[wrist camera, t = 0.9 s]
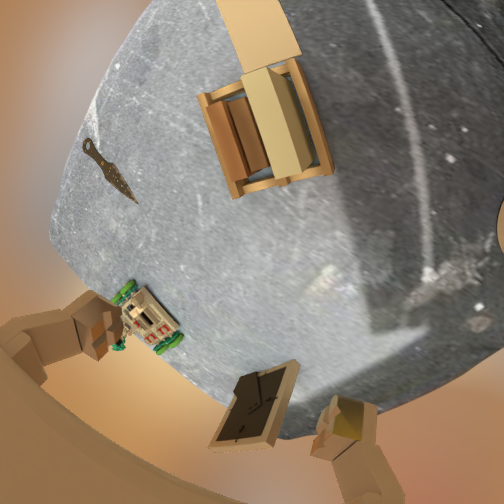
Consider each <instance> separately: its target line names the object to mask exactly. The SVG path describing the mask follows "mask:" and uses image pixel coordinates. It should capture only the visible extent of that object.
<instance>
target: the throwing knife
mask: <svg viewBox="0 0 504 504" xmlns="http://www.w3.org/2000/svg"><path fill="white" fill-rule="evenodd" d="M87 142H89V143H90V149H89V150H87V149H86V143H87ZM83 150H84V152H85V153H86V154H88V155H89V156H91V157H92V158H93V159H94V160H95V161H96V162H97V164H98V165H99V166H100V167H101V169H102V171H103V173H104V175H105V179H106V180H107V181H108V182H110V183H111V184H112V185H113V186H114V187H115V188H116V189H118V190H119V191H120V192H121V193H123V194H124V195H125V196H127V197H128V198H129V199H131V200H132V201H134V202H135V203H137V201H136V199H135V197H134V195H133V193H132V191H131V190H130V188H129V187H128V185H127V183H126V182H125V180H124V178H123V177H122V175H121V174H120V172H119V171H118V169H117V168H116V166H115V165H114V163H108V162H107V161H106V160H105V159H104V158H103V157H102V156H101V155H100V154H99V152H98V151H97V150H96V148H95V146H94V144H93V142H92V140H91V139H90V138H87V139H85V141H84V142H83ZM109 170H110V172H109ZM113 175H114V177H113ZM117 180H118V182H117ZM121 185H122V186H123V188H122V187H121ZM137 204H138V203H137ZM138 205H139V204H138Z"/></svg>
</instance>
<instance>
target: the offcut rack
mask: <svg viewBox="0 0 504 504" xmlns="http://www.w3.org/2000/svg"><path fill="white" fill-rule="evenodd" d="M285 62H286V64H284V65H281V66H278V67H275V68H272V69H271V70H273V71H274V72H276V73H278V74H279V75H281V76H283V77H284V78H285V77H288V76H291V77H292V80H293V83H294V86H295V88H296V91H297V94H298V97H299V100H300V102H301V105H302V108H303V111H304V114H305V117H306V120H307V123H308V126H309V129H310V132H311V136H312V139H313V142H314V145H315V148H316V152H317V155H318V158H319V162H320V164H316V165H312V166H308V167H307V168H306V169H305V170H304V171H303V172H302V173H299V174H295V175H291V176H288V177H284V178H280V179H276V180H275V177H274V176H270V177H266V178H263V179H259V180H255V181H252V182H249V181H248V178H244V179H241V180H238V181H234V182H231V179H230V176H229V173H228V171H227V168H226V165H225V162H224V159H223V156H222V153H221V150H220V148H219V145H218V142H217V139H216V136H215V133H214V130H213V127H212V125H211V122H210V119H209V116H208V113H207V110H206V107H207V106H209V105H212V104H214V103H216V102H219V101H222V100H225V99H227V98H229V97H232V96H234V95H237V94H240V93H242V92H245V89H244V86H243V83H242V80H240V81H237V82H235V83H233V84H230V85H228V86H225V87H223V88H221V89H218V90H216V91H214V92H211V93H204V92H203V93H201V94H199V95H197V99H198V102H199V104H200V107H201V110H202V113H203V116H204V119H205V122H206V124H207V127H208V130H209V133H210V136H211V139H212V142H213V145H214V147H215V150H216V153H217V156H218V159H219V162H220V165H221V168H222V170H223V173H224V176H225V179H226V182H227V185H228V188H229V190H230V193H231V196H232V199H236V198H240V197H241V196H243V195H244V194H247V193H251V192H254V191H258V190H262V189H266V188H269V187H273V186H277V185H279V187H282V186H286V185H288V184H289V183H290V182H293V181H297V180H301V179H305V178H309V177H314V176H318V175H322V174H323V176H328V175H332V174H333V172H334V169H335V168H334V164H333V161H332V157H331V154H330V151H329V147H328V144H327V141H326V137H325V134H324V131H323V128H322V125H321V121H320V118H319V115H318V112H317V109H316V106H315V103H314V101H313V98H312V95H311V92H310V89H309V86H308V84H307V81H306V78H305V76H304V73H303V70H302V68H301V65H300V64H299V63H298V62H297V61H296V60H295V59H294V58H291V59H288V60H285Z"/></svg>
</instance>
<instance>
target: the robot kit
mask: <svg viewBox="0 0 504 504" xmlns="http://www.w3.org/2000/svg"><path fill="white" fill-rule="evenodd" d="M134 285H135V282H134V281H133V280H132V281H130V282H129V283H127V284H126V283H125V284H124V287H123V288H122V289H121V290H120V293H118V294H117V295H116V294H115V295H114V298H113V299H112V300H111V302H113V303H117V302H118V301H119V302H118V303H117V304H116V305H119V304H121V306H120V307H121V308H122V313H123V314H122V315H121V316H122V318H123V319H122V321H124V320H125V321H124V322H123V325H124V328H125V326H126V325H125V323H126V322H127V324H128V325H129V326H130V327H131V329H130V330H127V329H126V328H125V329H124V330H123V333H122V335H121V337H120V339H119V340H118V341H117V342H116V344H113V345H112V346H113V348H112V349H113V350H116V351H120V350H124V349H125V346H124V343H125V338H126V335H127V334H128V335H132V334H133V333H134V332H136V333H137V335H140V334H141V335H142V336H143V337H144V338H145V339H144V340H145V342H146V343H147V344H149V345H150V346H151V345H153V344H157V345H156V346H155V348H154V349H153V350H154V351H156V354H157V355H161V354H162V353H163V352H165V351H166V350H167V348H168V347H170V348H174V347H175V346H177V345H179V344H180V342H181V341H182V339H183V335H182V334H179V332H178V331H177V332H175V333H174V334H173V332H174V331H176V330H177V328H178V327H179V326H178V324H176V322H175V321H174V320H173V319H172V318H171V317H170V316H169V315H168V314H167V313H166V312H165V310H164V309H163V308H162V307H161V306H160V305H159V304H158V303H157V301H155V299H154V298H153V297H152V296H151V295H150V293H149V292H148V291H147V290H146V289H145V288H144V287H143V288H141V289H140V290H139V291H138V292H137V293H136V292H134V293H133V292H132V291H133V290H134V289H136V288H137V287H138V286H137V285H136V286H135V287H133V286H134ZM132 287H133V288H132ZM131 288H132V289H131ZM141 290H142V291H141ZM127 291H129V292H128V293H127V294H126V295H125V293H126V292H127ZM144 291H145V292H144ZM146 291H147V292H146ZM130 293H131V294H132V295H131V299H128V298H127V296H128V295H129V294H130ZM144 293H145V294H144ZM148 294H149V295H148ZM146 295H147V297H146ZM148 296H149V297H148ZM122 297H123V298H122ZM121 298H122V299H121ZM120 299H121V300H120ZM124 299H126V301H125V302H124V303H122V301H123V300H124ZM151 299H152V300H151ZM153 299H154V300H153ZM151 301H152V302H151ZM153 301H154V303H153ZM151 303H152V304H151ZM127 304H128V305H129V304H131V306H130V307H131V309H132V310H130V311H129V310H128V309H127V306H128V305H127ZM153 304H154V305H153ZM155 304H156V305H155ZM151 305H152V306H151ZM158 307H159V308H158ZM160 307H161V308H160ZM158 309H159V310H158ZM160 309H161V310H160ZM123 310H124V311H123ZM154 310H155V311H154ZM125 311H126V312H125ZM161 312H163V313H161ZM125 313H126V314H125ZM127 313H128V314H127ZM127 315H128V316H127ZM129 315H130V316H129ZM163 315H164V316H163ZM165 315H166V316H165ZM167 315H168V316H167ZM129 317H130V318H129ZM165 317H166V318H165ZM167 317H168V318H167ZM131 318H132V320H131ZM161 318H162V319H161ZM168 320H169V321H168ZM170 320H171V321H170ZM170 322H171V323H170ZM173 325H174V326H173ZM125 330H127V331H126V332H125ZM132 330H133V331H132ZM131 331H132V332H131ZM149 332H150V333H149ZM138 333H139V334H138ZM125 334H126V335H125ZM166 336H167V337H168V338H167V339H164V337H166ZM169 336H170V337H169Z"/></svg>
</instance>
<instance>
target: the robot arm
mask: <svg viewBox="0 0 504 504" xmlns="http://www.w3.org/2000/svg"><path fill="white" fill-rule="evenodd" d="M497 235H498V241H499V244H500V247H501V249H502V251H503V253H504V201H503V203H502V206H501V209H500V212H499V216H498V223H497ZM121 315H122V308H121V307H120V306H118V305H116V304H115V303H113V302H111V301H109V300H108V299H106V298H104V297H103V296H101V295H99V294H98V293H96V292H94V291H93V290H89V291H86V292H85V293H84V294H82V295H81V296H80V297H79V298H77V299H76V300H75V301H73V302H72V303H71V304H70V305H68V306H67V307H66V308H65V309H63V310H60V309H57V310H52V311H48V312H42V313H37V314H32V315H27V316H21V317H16V318H12V319H10V320H9V321H8V322H6V323H5V324H4V325H3V326H1V327H0V504H246V503H243V502H240V501H237V500H233V499H231V498H228V497H225V496H223V495H220V494H217V493H214V492H212V491H209V490H207V489H204V488H202V487H199V486H197V485H195V484H192V483H190V482H188V481H185V480H183V479H181V478H179V477H177V476H175V475H173V474H171V473H168V472H166V471H164V470H162V469H160V468H158V467H157V466H155V465H153V464H151V463H149V462H147V461H145V460H143V459H142V458H140V457H138V456H136V455H135V454H133V453H131V452H129V451H128V450H126V449H124V448H123V447H121V446H119V445H118V444H116V443H115V442H113V441H112V440H110V439H108V438H107V437H105V436H104V435H102V434H101V433H99V432H98V431H96V430H95V429H93V428H92V427H91V426H89V425H88V424H87V423H85V422H84V421H82V420H81V419H80V418H78V417H77V416H76V415H74V414H73V413H72V412H70V411H69V410H68V409H67V408H65V407H64V406H63V405H62V404H60V403H59V402H58V401H56V400H55V399H54V398H53V397H52V396H51V395H50V394H48V393H47V392H46V391H45V390H44V389H43V388H41V387H40V386H41V385H42V384H43V383H44V382H45V381H46V380H47V374H46V372H45V370H44V368H43V366H46V365H49V364H52V363H55V362H57V361H60V360H63V359H66V358H69V357H71V356H74V355H77V354H80V353H82V352H84V353H85V354H87V355H88V356H90V357H92V358H93V359H95V360H96V361H99V360H100V359H101V358H102V357H103V356H104V355H105V354H106V353H107V352H108V347H109V345H113V344H116V342H117V341H118V340H119V339H120V337H121V335H122V333H123V329H124V325H123V321H122V320H121V318H120V316H121ZM376 422H377V406H376V405H373V404H369V403H366V402H362V401H359V400H355V399H351V398H347V397H343V396H340V395H335V396H334V397H333V399H332V400H331V404H330V406H327V407H326V408H325V409H324V410H323V412H322V414H321V416H320V418H319V420H318V423H317V427H316V431H317V433H318V436H317V437H316V438H315V439H314V440H313V445H312V450H311V454H310V456H313V457H317V458H321V459H324V460H328V461H332V465H333V469H334V472H335V475H336V478H337V481H338V484H339V486H340V490H341V493H342V495H343V499H344V502H345V503H344V504H404V503H405V493H404V491H403V489H402V487H401V486H400V484H399V482H398V480H397V478H396V476H395V474H394V473H393V471H392V469H391V467H390V465H389V463H388V461H387V460H386V457H385V456H384V454H383V452H382V450H381V448H380V446H379V445H375V441H376V424H377V423H376Z"/></svg>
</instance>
